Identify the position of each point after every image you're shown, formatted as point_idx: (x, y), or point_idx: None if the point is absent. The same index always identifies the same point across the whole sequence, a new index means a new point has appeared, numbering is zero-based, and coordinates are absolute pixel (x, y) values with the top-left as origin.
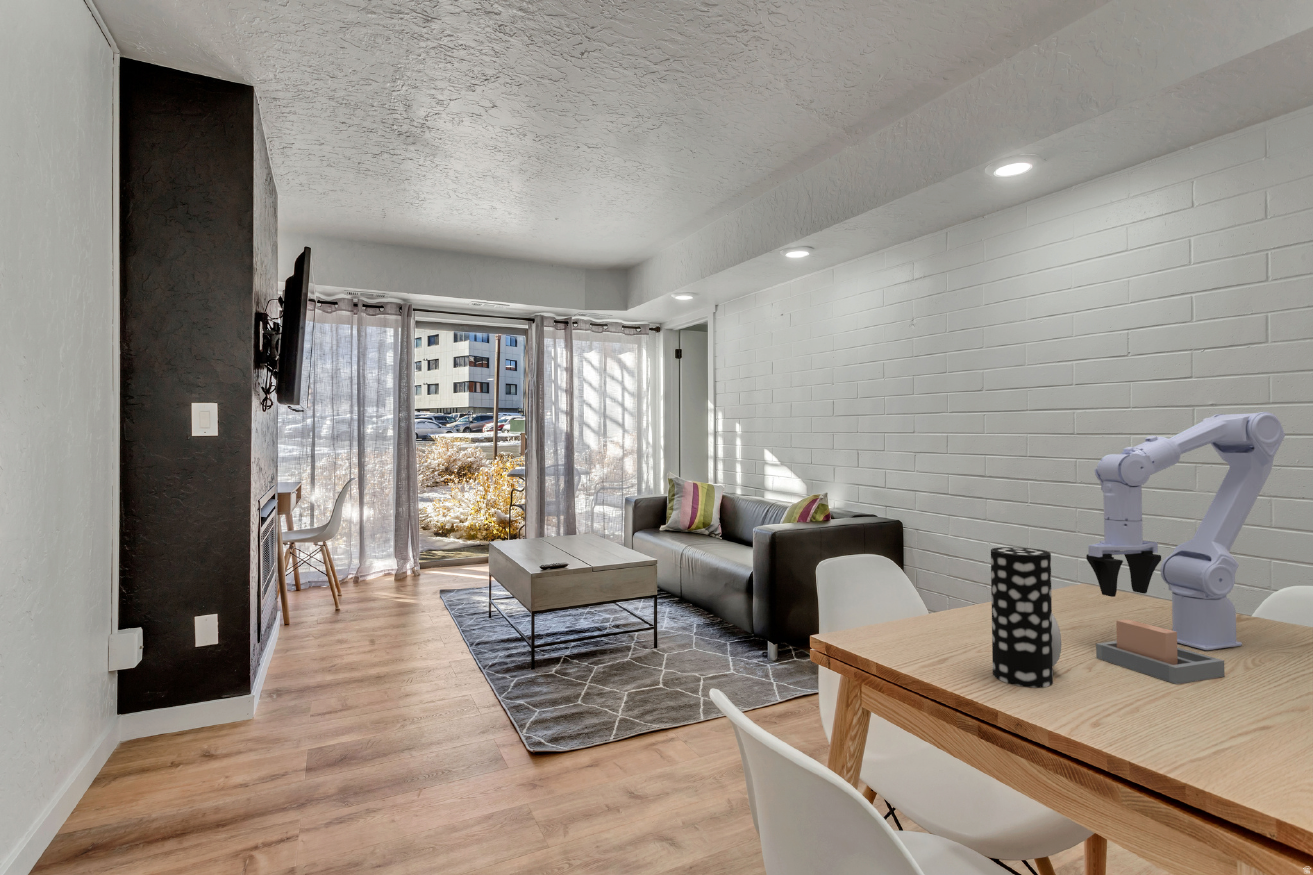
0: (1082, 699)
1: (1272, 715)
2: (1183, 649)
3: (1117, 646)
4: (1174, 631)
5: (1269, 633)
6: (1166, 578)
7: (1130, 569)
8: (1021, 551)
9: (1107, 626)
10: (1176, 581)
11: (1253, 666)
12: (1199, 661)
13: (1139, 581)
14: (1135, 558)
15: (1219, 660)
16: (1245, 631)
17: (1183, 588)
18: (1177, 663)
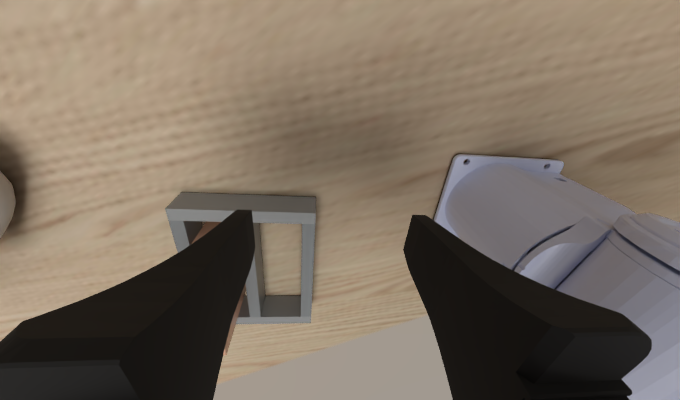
0: (4, 303)
1: (226, 366)
2: (310, 280)
3: (196, 237)
4: (225, 352)
5: (667, 205)
6: (621, 243)
7: (464, 269)
8: None
9: (482, 3)
10: (583, 276)
11: (400, 290)
12: (267, 318)
13: (425, 266)
14: (496, 362)
15: (303, 321)
16: (660, 182)
17: (548, 280)
18: (242, 301)
